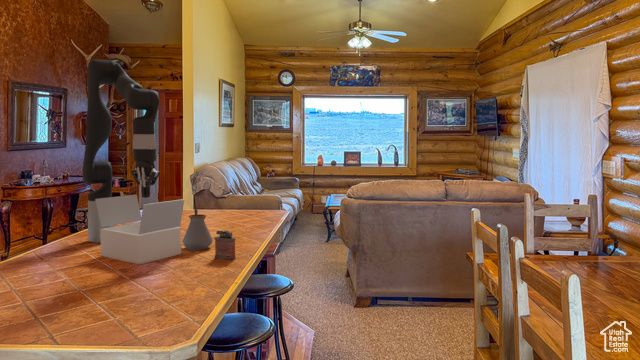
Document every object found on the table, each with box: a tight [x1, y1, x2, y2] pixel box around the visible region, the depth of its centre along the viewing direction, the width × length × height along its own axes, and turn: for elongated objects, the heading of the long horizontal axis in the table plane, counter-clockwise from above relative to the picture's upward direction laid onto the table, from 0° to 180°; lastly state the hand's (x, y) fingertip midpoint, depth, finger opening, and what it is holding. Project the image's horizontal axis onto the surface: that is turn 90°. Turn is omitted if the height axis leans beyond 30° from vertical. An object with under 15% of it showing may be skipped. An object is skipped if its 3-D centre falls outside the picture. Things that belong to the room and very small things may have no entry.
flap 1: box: [95, 194, 142, 227], centre depth 180 cm, size 10×17×1 cm
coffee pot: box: [182, 204, 214, 251], centre depth 191 cm, size 21×12×15 cm, turn 17°
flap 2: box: [139, 198, 185, 234], centre depth 167 cm, size 10×17×1 cm
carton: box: [100, 221, 182, 265], centre depth 175 cm, size 22×18×10 cm
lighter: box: [214, 229, 237, 260], centre depth 170 cm, size 8×3×10 cm, turn 71°
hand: (145, 197), depth 166 cm, fingers closed
